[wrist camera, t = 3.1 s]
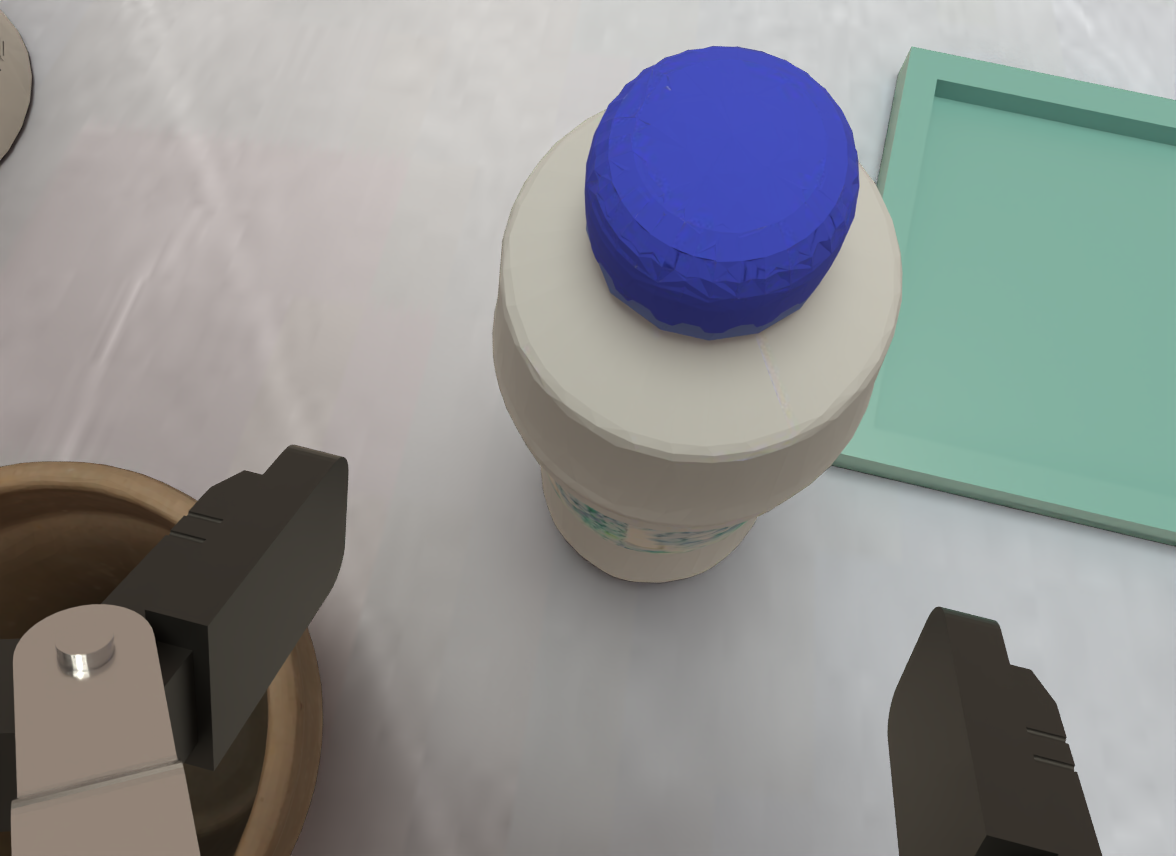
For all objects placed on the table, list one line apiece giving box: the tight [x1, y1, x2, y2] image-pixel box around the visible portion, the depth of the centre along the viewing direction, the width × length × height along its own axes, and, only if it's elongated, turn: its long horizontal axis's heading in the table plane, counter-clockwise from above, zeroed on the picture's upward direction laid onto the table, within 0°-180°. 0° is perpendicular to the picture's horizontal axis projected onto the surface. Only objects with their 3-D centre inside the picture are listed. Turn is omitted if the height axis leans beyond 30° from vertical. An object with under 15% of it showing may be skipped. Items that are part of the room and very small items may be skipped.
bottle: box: [492, 46, 902, 583], centre depth 21 cm, size 7×7×20 cm
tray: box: [832, 47, 1176, 546], centre depth 31 cm, size 14×14×2 cm
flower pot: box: [0, 462, 323, 856], centre depth 24 cm, size 12×11×10 cm
